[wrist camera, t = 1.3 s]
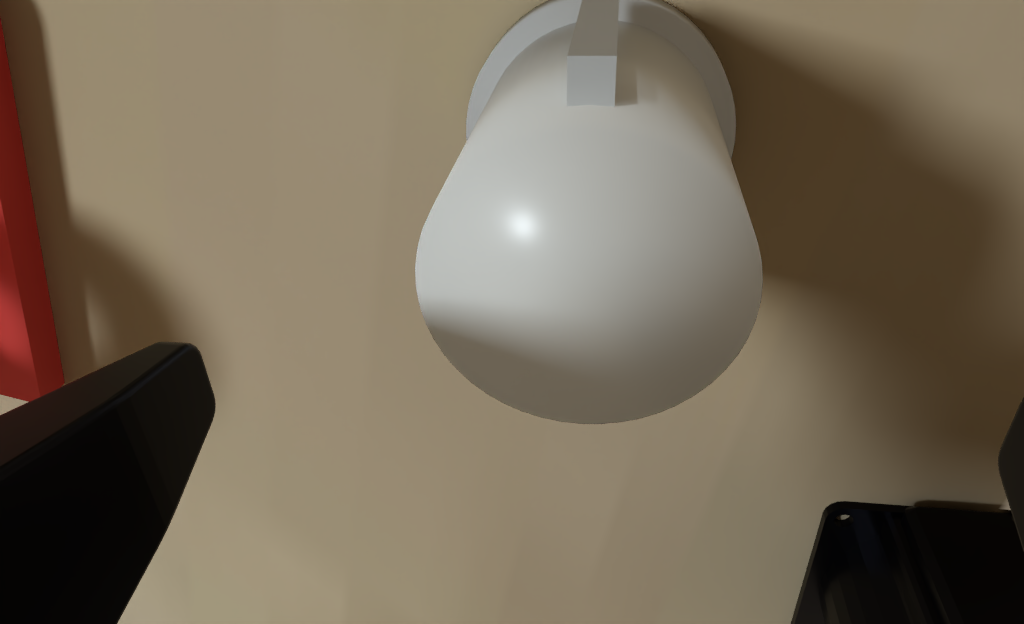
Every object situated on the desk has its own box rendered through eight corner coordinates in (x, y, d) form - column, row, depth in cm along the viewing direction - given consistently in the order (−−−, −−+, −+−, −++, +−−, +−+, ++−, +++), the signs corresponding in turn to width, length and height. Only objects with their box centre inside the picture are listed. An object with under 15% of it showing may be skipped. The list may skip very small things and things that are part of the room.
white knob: (713, 240, 17) (760, 455, 11) (481, 233, 17) (408, 431, 12) (749, -26, 14) (841, 74, 8) (466, -23, 14) (357, 72, 9)
